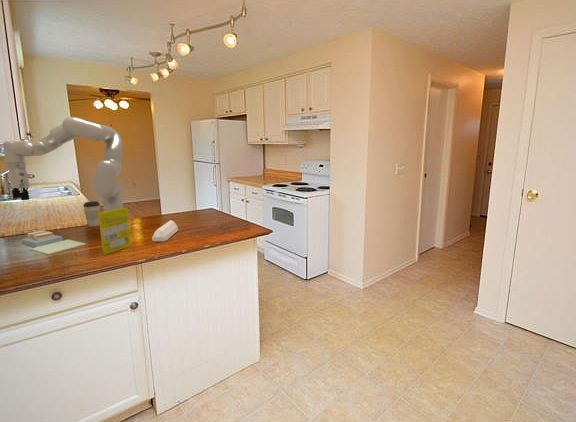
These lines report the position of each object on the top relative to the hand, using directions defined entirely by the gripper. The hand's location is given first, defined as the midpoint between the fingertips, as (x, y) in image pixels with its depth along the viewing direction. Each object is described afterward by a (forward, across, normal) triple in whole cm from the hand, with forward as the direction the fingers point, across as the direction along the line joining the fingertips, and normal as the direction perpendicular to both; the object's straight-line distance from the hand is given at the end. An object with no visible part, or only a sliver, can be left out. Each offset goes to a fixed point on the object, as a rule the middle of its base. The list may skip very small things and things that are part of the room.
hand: (21, 199), depth 160 cm
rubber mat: (+22, -28, -3) cm, 36 cm away
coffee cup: (+22, +3, -36) cm, 42 cm away
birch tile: (+19, -12, -2) cm, 23 cm away
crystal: (+21, -58, -42) cm, 75 cm away
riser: (+22, -13, -2) cm, 26 cm away
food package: (+21, -58, -14) cm, 64 cm away
